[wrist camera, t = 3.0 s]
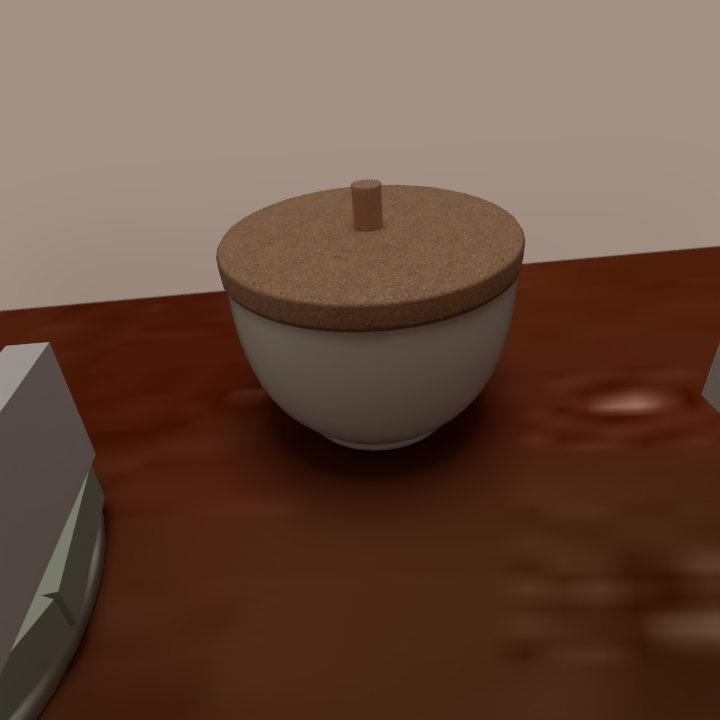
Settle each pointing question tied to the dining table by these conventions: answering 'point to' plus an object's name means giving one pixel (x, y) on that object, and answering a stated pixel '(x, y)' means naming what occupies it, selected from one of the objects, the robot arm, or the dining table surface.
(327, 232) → the lidded jar
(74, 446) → the robot arm
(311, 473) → the dining table surface
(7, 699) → the rimmed tray
